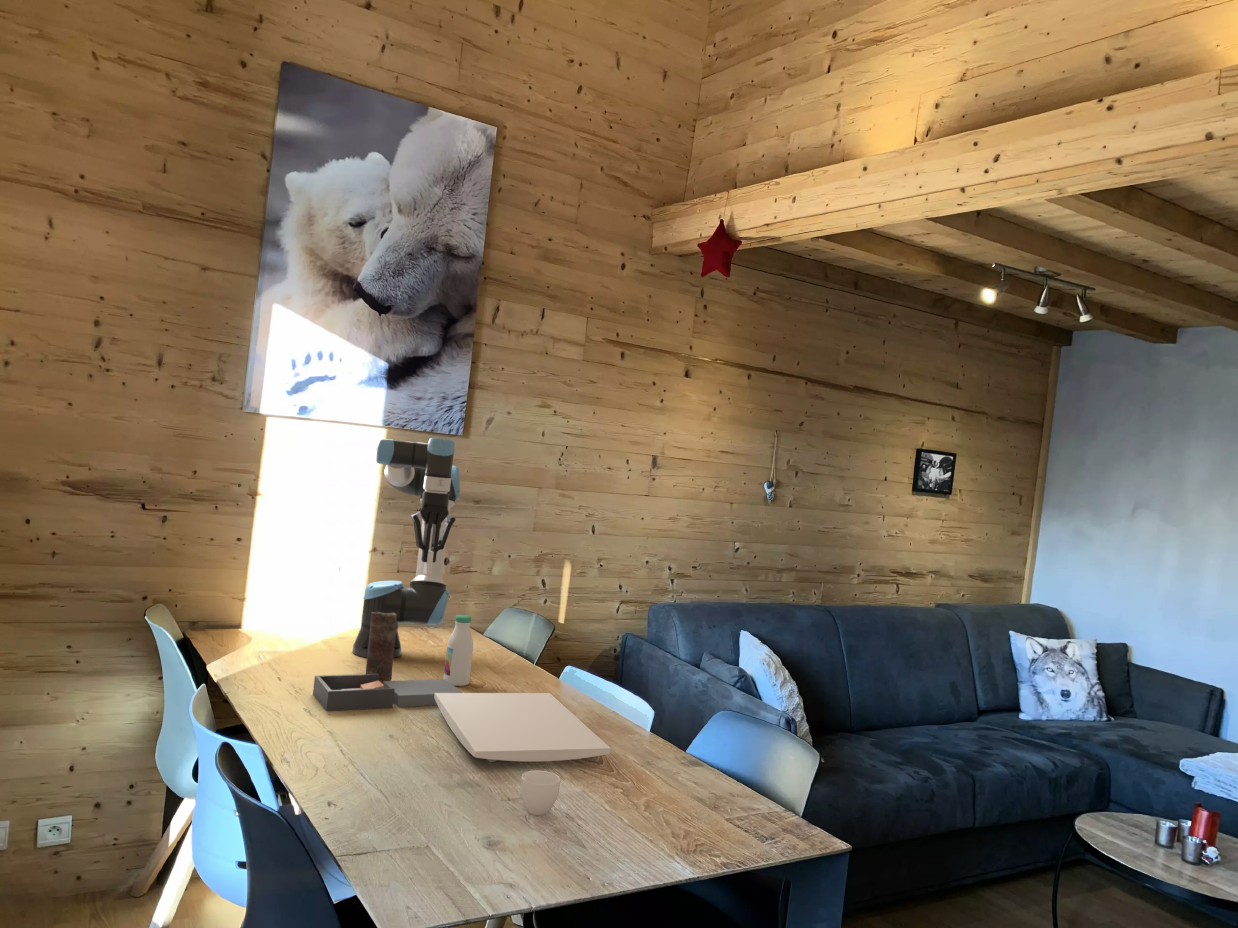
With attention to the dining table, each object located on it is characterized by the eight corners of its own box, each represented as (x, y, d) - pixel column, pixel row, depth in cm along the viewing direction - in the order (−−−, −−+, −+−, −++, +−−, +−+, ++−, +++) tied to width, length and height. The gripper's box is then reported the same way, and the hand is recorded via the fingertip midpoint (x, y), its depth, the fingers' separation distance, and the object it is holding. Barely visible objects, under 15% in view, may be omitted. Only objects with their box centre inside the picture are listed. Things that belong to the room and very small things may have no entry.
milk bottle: (472, 681, 269) (479, 615, 269) (465, 687, 262) (472, 619, 262) (447, 678, 270) (454, 612, 270) (439, 684, 262) (447, 616, 262)
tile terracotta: (360, 692, 241) (360, 684, 241) (379, 687, 243) (378, 680, 243) (366, 697, 237) (365, 690, 236) (384, 692, 239) (384, 685, 239)
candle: (358, 680, 257) (366, 611, 257) (374, 676, 264) (382, 608, 263) (380, 686, 254) (388, 615, 254) (396, 681, 261) (404, 612, 261)
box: (312, 694, 239) (314, 675, 239) (376, 691, 248) (378, 673, 248) (326, 710, 226) (328, 691, 226) (392, 707, 235) (394, 688, 235)
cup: (530, 821, 173) (534, 786, 173) (505, 801, 182) (509, 768, 181) (564, 815, 178) (567, 781, 178) (538, 796, 186) (541, 764, 186)
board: (432, 710, 238) (434, 692, 238) (547, 709, 250) (549, 692, 250) (472, 772, 196) (475, 751, 196) (608, 768, 209) (610, 748, 209)
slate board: (382, 691, 248) (383, 681, 248) (444, 689, 258) (445, 678, 258) (397, 706, 236) (398, 695, 236) (461, 703, 246) (463, 692, 246)
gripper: (418, 491, 251) (409, 575, 252) (462, 494, 258) (453, 576, 258) (410, 488, 258) (400, 570, 258) (453, 492, 265) (444, 572, 265)
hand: (427, 573), depth 258 cm, fingers closed
